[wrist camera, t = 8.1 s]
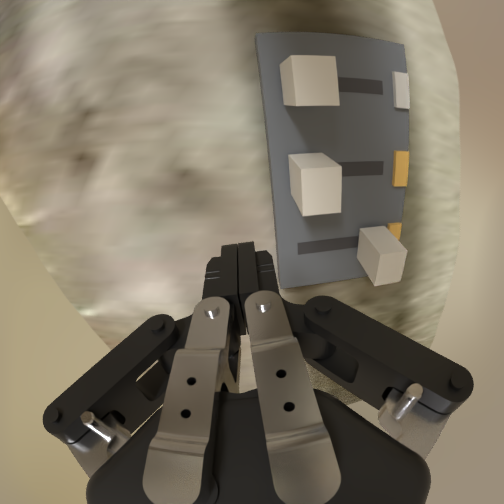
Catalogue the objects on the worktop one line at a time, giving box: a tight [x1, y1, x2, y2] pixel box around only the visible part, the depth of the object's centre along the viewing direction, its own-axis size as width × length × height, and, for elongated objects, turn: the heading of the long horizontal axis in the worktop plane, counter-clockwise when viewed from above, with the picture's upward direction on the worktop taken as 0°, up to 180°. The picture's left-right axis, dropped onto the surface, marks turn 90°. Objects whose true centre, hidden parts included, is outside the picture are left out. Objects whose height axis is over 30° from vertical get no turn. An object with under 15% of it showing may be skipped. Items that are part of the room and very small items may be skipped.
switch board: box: [255, 32, 410, 289], centre depth 24 cm, size 26×14×2 cm, turn 6°
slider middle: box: [288, 152, 342, 216], centre depth 21 cm, size 4×3×5 cm
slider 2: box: [357, 226, 407, 286], centre depth 25 cm, size 4×3×5 cm
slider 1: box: [279, 55, 340, 106], centre depth 17 cm, size 4×3×5 cm
